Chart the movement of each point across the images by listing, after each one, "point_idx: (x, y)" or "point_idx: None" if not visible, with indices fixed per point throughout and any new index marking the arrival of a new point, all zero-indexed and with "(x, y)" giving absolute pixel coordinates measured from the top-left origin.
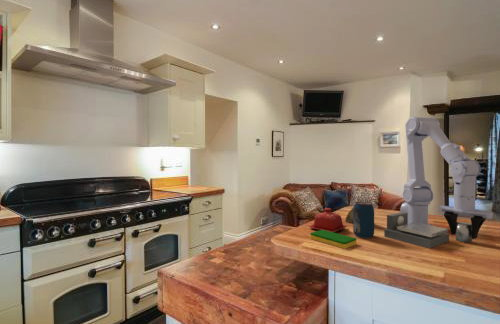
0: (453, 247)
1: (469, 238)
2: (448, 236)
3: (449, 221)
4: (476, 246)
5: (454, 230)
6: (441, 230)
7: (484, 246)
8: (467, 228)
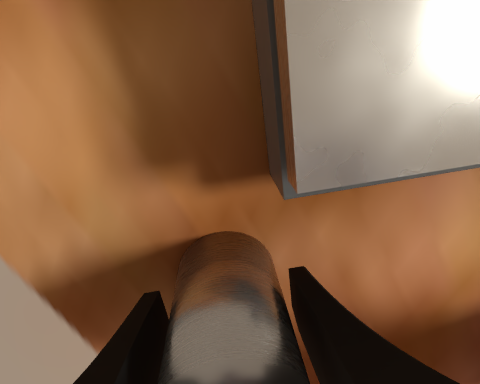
0: (143, 25)
1: (176, 286)
2: (277, 177)
3: (368, 352)
4: (106, 232)
5: (299, 308)
6: (300, 19)
7: (91, 277)
8: (170, 349)
